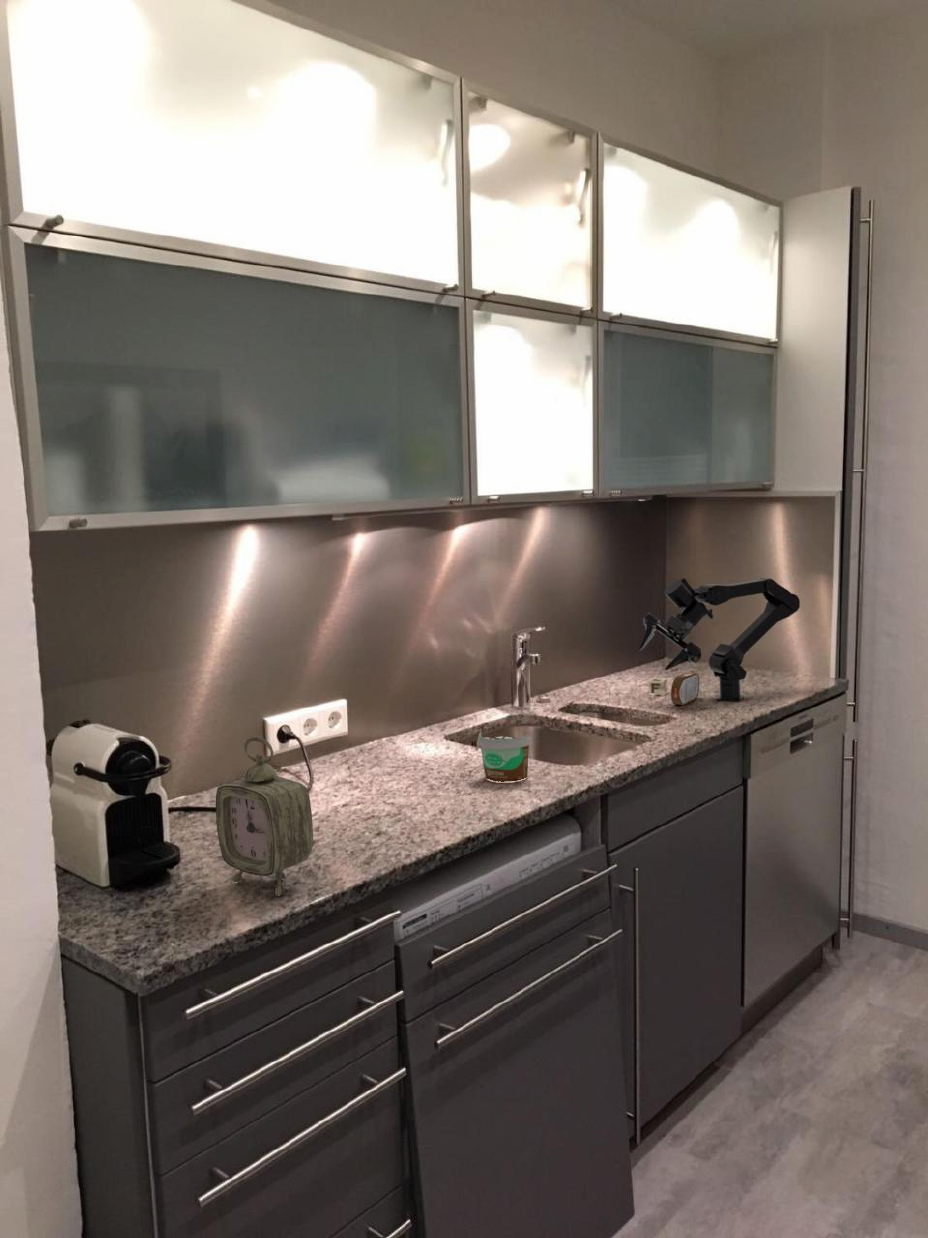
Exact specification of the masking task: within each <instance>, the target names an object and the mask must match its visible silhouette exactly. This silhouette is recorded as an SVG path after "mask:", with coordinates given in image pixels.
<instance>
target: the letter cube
mask: <svg viewBox="0 0 928 1238" xmlns="http://www.w3.org/2000/svg"><path fill="white" fill-rule="evenodd" d="M647 684H648V694H649V693H655V694H664V693H666V692H667V691H668V689H669V688H668V678H654V677H653V678H650V679H649V680H648V683H647Z"/></svg>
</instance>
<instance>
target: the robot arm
mask: <svg viewBox="0 0 928 1238" xmlns="http://www.w3.org/2000/svg"><path fill="white" fill-rule="evenodd" d="M664 594H665V596H666V597H667V598H668V599H669V600H670V601H671V602H672V603H673V604H674V605H675V607H676V608H677V609H679V608H682V610H681V612H679V613H677V614H676V615H674V614H670V615H669V616H668V618H667V619H666V620H665V622H664V625H665V626H663V625H662V624H661V619H660V618H659V617H657V616H656V615H654V614H653V613H652V612H648V613H646V614H645V615H644V616H643V617H642V622H643V626H644V628H645V629H644V630H645V632H644V636H643V639H642V641H641V643H640V646H639V649H638V651H639V652H641V651H642V650H643V649H644V648H646V646H647V645H648V644H649V642H650V641H651V640H652V639H653V638H654V637H655V633H656V632H659V634H661V635H663V636H664V637H666V638H667V639H668V640H669V641H671V642H672V643H674V644H675V645H676V646H678V647H679V648H680V649H681V651H680V652H679V653H678V654H677V655H676V656H675V657H674V658H673V659H672V660H671V661H670V662H669V663H668V664H667V665H666V667H664V670H665V671H668V670H670V669H672V668H674V667H676V666H678V665H681V664H685V663H687V662H688V663H694V664H698V662H699V661H700V660H701V658H702V650H701V649H702V648H700V647H699V646H697V645H696V644H694V643H693V642H692V641H690V642H688V643H687V642H686V641H685V639H686V638H688V636H689V635H690V634H692V632H693V631H694V629H695V628H696V627H697V626H698V625H699V624H700V622H701V621H702V620H703V619H704V618H705V619H709V620H712V619H714V615H713V608H708V607H707V606H706V605H709V606H720V605H722V604H724V603H727V602H729V601H730V600H732V599H734V598H740V597H747V596H752V595H757V594H758V595H759V594H761V595H762V596H763V598H764V599H765V600H766V601H767V602H766V604H765V608H764V611H763V612H762V613H760V615H759V616H758V617H757V618H756V619H755V620H754V621H753V622H752V623H751V624H750V625H749V626H748V627H747V628H746V629H745V630H743V632H742V633H741V634H740V635H739V636H738V637H737V638H735V640H734V641H733V642H731V643H730V644H726V643H720V644H719V645H718V646H717V647H716V649H714V650H712V651H711V655H710V656H709V658H708V665H709V668H710V669H711V670H712V672H713V674H714V676H715V677H718V678H719V695H718V697H717V698H716V701H731V702H739V701H741V700H742V699H743V698H744V694H741V680H745V679H746V676H747V671H746V669H744V668H743V667H742V666H741V665H742V664H743V661H744V657H745V655H746V654H747V652H749V651H750V650H751V649H752V648H753V647H754V646H755V645H756V644H757V643H758V642H759V641H760V640H761V639H762V638H764V636H765V635H766V634H767V633H768V632H769V631H770V630H771V629H772V628H773V627H774V626H775V625H776V624H777V623H778V622H781V621H783V620H785V619H788V618H789V617H791V616H792V615H794V614H795V613H796V612H798V610H799V609H800V607H801V605H800V604H801V602H800V601H801V600H800V599H799V598H800V597H799V596H798V595H797V594H796V593H793V592H791V591H789V590H788V589H786V588H785V587H784V586H782V585H780V584H778V582H776V581H775V580H774V579H773V578H766V577H761V578H759V579H753V580H748V581H742V582H736V583H728V584H716V583H715V584H714V583H703V584H701V585H699V587H698V588H693V587H692V586H691V585H690V584H689V583H688V581H687V579H686V578H685V577H679V578H678V580H675V581H673V582H671V584H669V585H667V587H666V588H665V590H664Z"/></svg>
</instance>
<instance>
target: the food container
mask: <svg viewBox="0 0 928 1238" xmlns="http://www.w3.org/2000/svg"><path fill="white" fill-rule="evenodd" d="M532 744H533V741H532V737H531V736H530V734H529V733H528V734H526V735H523V736H521V737H515V736H509V735H496V736H482V732H480V733H479V734H478V737H477V743H476V745H477V746H478V747H480V750H481V751H480V752H481V757H482V765H483V769H484V771H483V772H484V777H485V779H486V778H487V779H490V780H493V781H498V782H499V781H501V782H504V781H517V780H521V779H524V778H526V777H527V778H528V774H529V771H528V769H529V753H530V751H529V750H530V748H529V747H530V745H532Z"/></svg>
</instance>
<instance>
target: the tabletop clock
mask: <svg viewBox="0 0 928 1238" xmlns="http://www.w3.org/2000/svg"><path fill="white" fill-rule="evenodd" d="M251 742H258V743H259V742H260V743H262V744H264V745H265V746H266V747H267V748H268V750H269V752H270V755H269V757H268V758H263V754H262V753H257V754H256V755H255V756H254V755H252V754H251V753H249V751H248V745H249V744H250V743H251ZM243 749H244V753H245V754H246V756H247V758H248V759H249V760H251V761H252V762H254V763H256V764H253V765H251V766H250V767H249V769H247V771H246V773H245V775H244V778H242V779H239V780H237V781H233V782H230V783H227V784H224V785H221V786H219V787H217V789H216V793H215V819H216V820H215V823H216V831H217V838H218V844H219V849H220V853H221V856H222V859H223V861H224V862H225V863H226V864H227V865H229V866H230V867H232V868H234V869H235V870H239V872H238V873H235V874H234V875H232V877H231V879H232V883H234V882H239V881H241V880H242V881H243V876H242V874H243V873H246V874H249V875H255V876H260V877H269V876H273V875H274V877H275V880H276V879H277V880H276V883H277V886H276V887H275V889H274V894H275V896H277V895H282V894H284V895H285V892H286V889H285V888H284V886H283V885H282V881H283V880H282V878H284V877H286V874H285V872H284V870H286V869H289V868H291V867H293V866H296V865H298V864H300V863H301V864H302V863H304V862H306V861H308V859H309V858H310V857H309V856H310V855H311V853H312V851H313V847H314V825H313V823H314V822H313V813H312V805H311V798H310V794H309V791H308V787H307V786H305V785H304V784H303V783H300V782H298V781H295V780H292V779H289V778H285V777H282V776H279V775H278V774H277V772H276V770H275V768H274V767H273V766H272V765H270V764H268V763H269V762H271V761H272V760H273V758H274V750H273V746H272V745H271V743H270V742H269V741H268V740H266V739H265V738H262V737H261V736H259V737H258V736H251V737H249V738H247V740H246V741H245V742H244V747H243ZM284 879H285V878H284ZM281 880H282V881H281ZM242 881H241V882H242Z"/></svg>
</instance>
